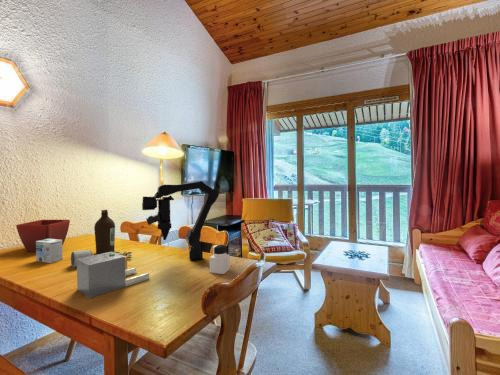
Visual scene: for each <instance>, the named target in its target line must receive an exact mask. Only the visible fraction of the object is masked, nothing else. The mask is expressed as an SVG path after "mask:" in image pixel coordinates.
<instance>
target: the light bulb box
mask: <svg viewBox="0 0 500 375" xmlns="http://www.w3.org/2000/svg"><path fill="white" fill-rule="evenodd" d="M35 258H36V259H35V261H36V262H40V263H45V264H51V263H55V262H59V261H62V260H63V259H64V257H63V246H62V240H58V239H44V240H40V241H36V252H35Z"/></svg>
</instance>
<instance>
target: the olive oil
mask: <svg viewBox="0 0 500 375" xmlns="http://www.w3.org/2000/svg"><path fill="white" fill-rule="evenodd" d="M100 216H101V217H99V218H98V220H97V221H96V222H95V224H94V227H93V228H94V238H95V240H94V241H95V242H94V243H95V253H96V254H95V255H97V254H102V253H107V252H114V253H115V244H116V242H115V241H116V240H115V239H116V237H115V236H116V224H115V221H114V220H113V219H112V218H110V217H109V212H108V209H101V213H100Z"/></svg>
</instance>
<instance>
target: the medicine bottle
mask: <svg viewBox="0 0 500 375" xmlns="http://www.w3.org/2000/svg"><path fill="white" fill-rule="evenodd" d="M212 253H213V254H212V255H211V256H209V273H211V274H220V275H224V274H226V273H227V272H228V271H229V270H230V269H231V268H230V267H231V266H230V264H231V262H230V260H231V259H230V258H231V256H230V254H228V253H227V246H226V245H224V244H222V243H220V244H215V245H214V246H213V247H212Z"/></svg>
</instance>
